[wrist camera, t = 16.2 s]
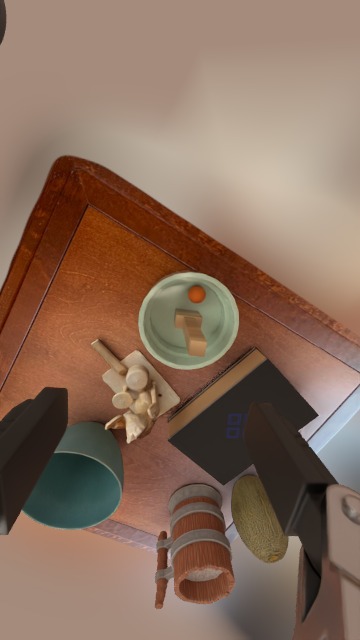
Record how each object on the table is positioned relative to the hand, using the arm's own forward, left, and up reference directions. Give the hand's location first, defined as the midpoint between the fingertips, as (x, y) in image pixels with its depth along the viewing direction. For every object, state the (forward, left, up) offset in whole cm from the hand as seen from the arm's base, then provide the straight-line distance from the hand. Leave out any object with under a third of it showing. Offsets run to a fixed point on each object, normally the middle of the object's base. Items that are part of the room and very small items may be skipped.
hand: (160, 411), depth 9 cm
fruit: (+45, +26, -32) cm, 62 cm away
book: (+23, +18, -32) cm, 44 cm away
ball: (-1, +6, -30) cm, 30 cm away
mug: (+55, +12, -32) cm, 65 cm away
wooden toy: (+18, -5, -32) cm, 37 cm away
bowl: (+3, +4, -32) cm, 33 cm away
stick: (+3, +4, -31) cm, 32 cm away
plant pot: (+34, -13, -32) cm, 49 cm away
